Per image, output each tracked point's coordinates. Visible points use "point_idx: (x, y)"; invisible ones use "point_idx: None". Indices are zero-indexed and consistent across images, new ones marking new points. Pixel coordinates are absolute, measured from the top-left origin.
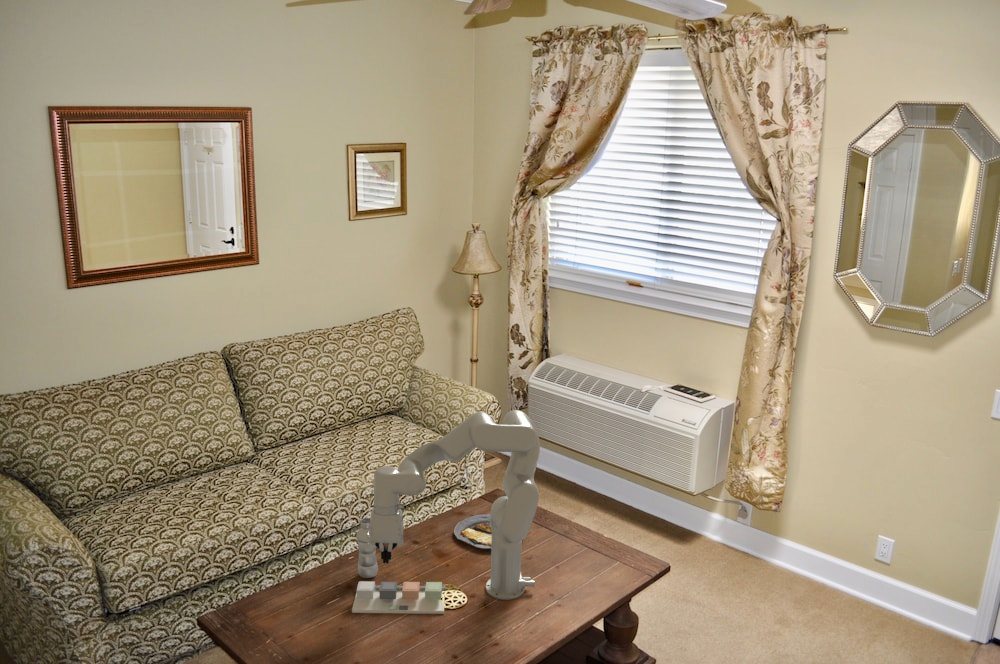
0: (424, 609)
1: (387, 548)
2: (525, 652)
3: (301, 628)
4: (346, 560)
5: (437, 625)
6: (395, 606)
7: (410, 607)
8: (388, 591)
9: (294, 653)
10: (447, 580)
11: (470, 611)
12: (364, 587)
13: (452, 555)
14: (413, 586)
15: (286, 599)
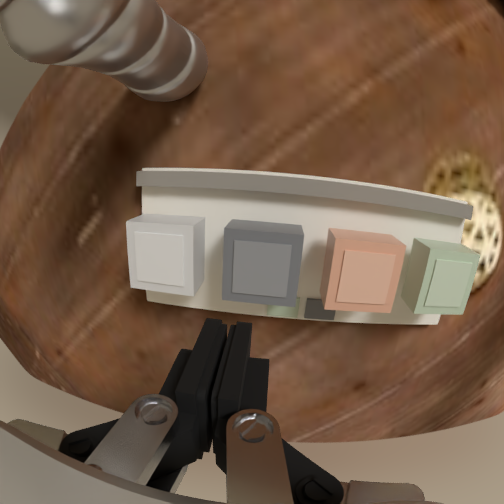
0: (387, 318)
1: (220, 466)
2: (501, 409)
3: (65, 335)
4: None
5: (403, 365)
6: None
7: None
8: (262, 301)
9: (88, 398)
10: (468, 135)
11: (489, 308)
12: (155, 273)
13: (462, 6)
14: (376, 282)
15: (8, 220)
